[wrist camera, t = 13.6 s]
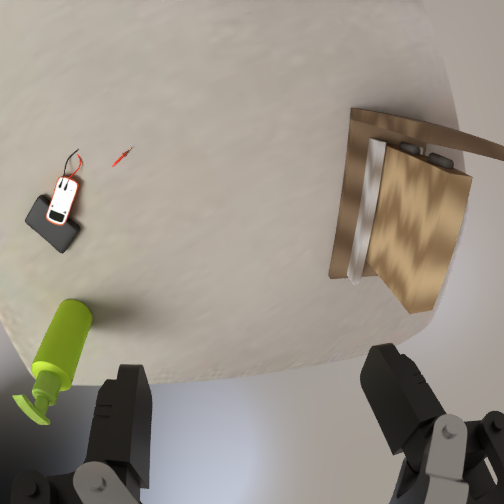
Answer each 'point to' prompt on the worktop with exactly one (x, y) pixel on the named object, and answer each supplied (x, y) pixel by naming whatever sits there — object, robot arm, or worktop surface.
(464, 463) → the robot arm
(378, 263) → the oak door
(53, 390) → the soap dispenser
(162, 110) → the worktop surface
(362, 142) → the hinge base
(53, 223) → the multimeter
